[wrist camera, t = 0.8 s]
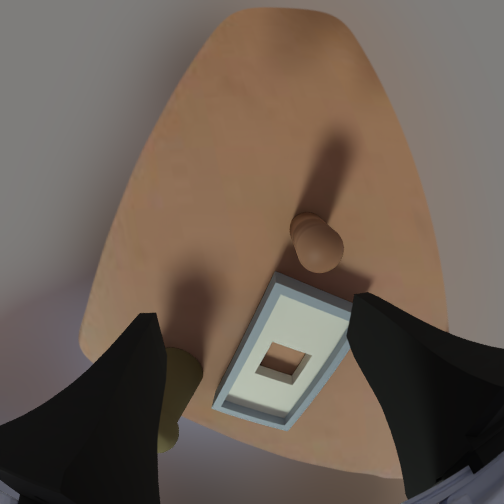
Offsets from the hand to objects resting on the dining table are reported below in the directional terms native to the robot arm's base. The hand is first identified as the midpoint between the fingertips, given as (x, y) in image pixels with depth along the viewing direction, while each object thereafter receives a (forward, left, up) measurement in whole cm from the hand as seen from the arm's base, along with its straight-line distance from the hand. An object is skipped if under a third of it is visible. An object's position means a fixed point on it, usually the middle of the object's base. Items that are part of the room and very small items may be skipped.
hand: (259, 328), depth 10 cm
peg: (-3, -2, -15) cm, 16 cm away
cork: (+3, +18, -16) cm, 24 cm away
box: (-6, +11, -15) cm, 20 cm away
